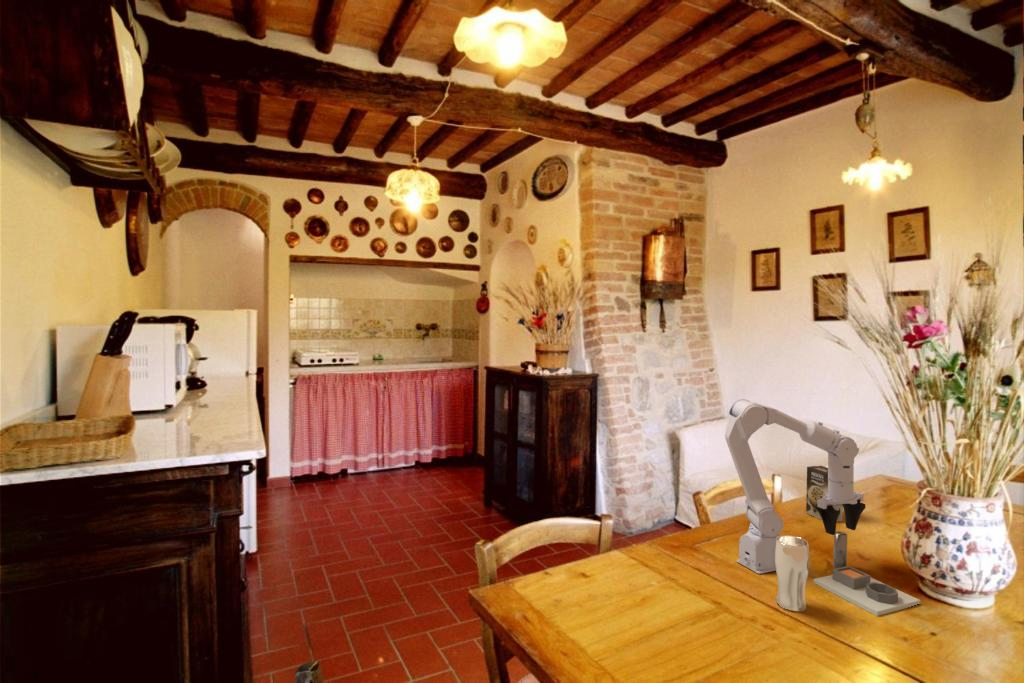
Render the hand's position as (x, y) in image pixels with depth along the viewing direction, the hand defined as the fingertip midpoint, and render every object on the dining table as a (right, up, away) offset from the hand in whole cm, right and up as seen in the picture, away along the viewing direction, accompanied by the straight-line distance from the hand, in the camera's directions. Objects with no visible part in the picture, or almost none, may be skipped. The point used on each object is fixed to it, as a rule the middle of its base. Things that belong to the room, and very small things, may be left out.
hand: (840, 531), depth 141 cm
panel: (-2, -10, -13) cm, 17 cm away
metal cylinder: (0, -10, 0) cm, 10 cm away
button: (-4, -8, -10) cm, 13 cm away
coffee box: (+17, -8, +36) cm, 41 cm away
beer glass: (-23, -11, -19) cm, 31 cm away
